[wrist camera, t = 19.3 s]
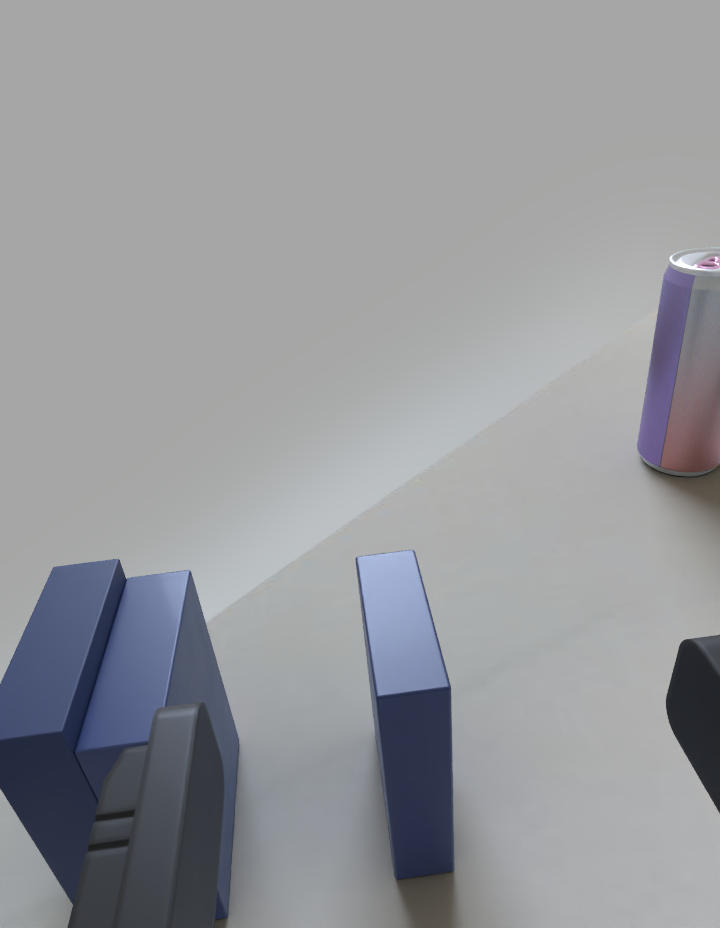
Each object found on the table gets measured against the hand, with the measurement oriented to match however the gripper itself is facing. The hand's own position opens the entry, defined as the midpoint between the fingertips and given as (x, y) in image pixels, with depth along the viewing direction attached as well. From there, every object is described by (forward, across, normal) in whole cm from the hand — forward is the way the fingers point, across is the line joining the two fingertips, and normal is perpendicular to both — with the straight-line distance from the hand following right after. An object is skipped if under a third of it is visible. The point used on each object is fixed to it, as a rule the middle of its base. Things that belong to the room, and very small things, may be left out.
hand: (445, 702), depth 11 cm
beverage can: (+33, -25, +19) cm, 46 cm away
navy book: (+10, 0, +19) cm, 21 cm away
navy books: (+10, +10, +19) cm, 24 cm away
